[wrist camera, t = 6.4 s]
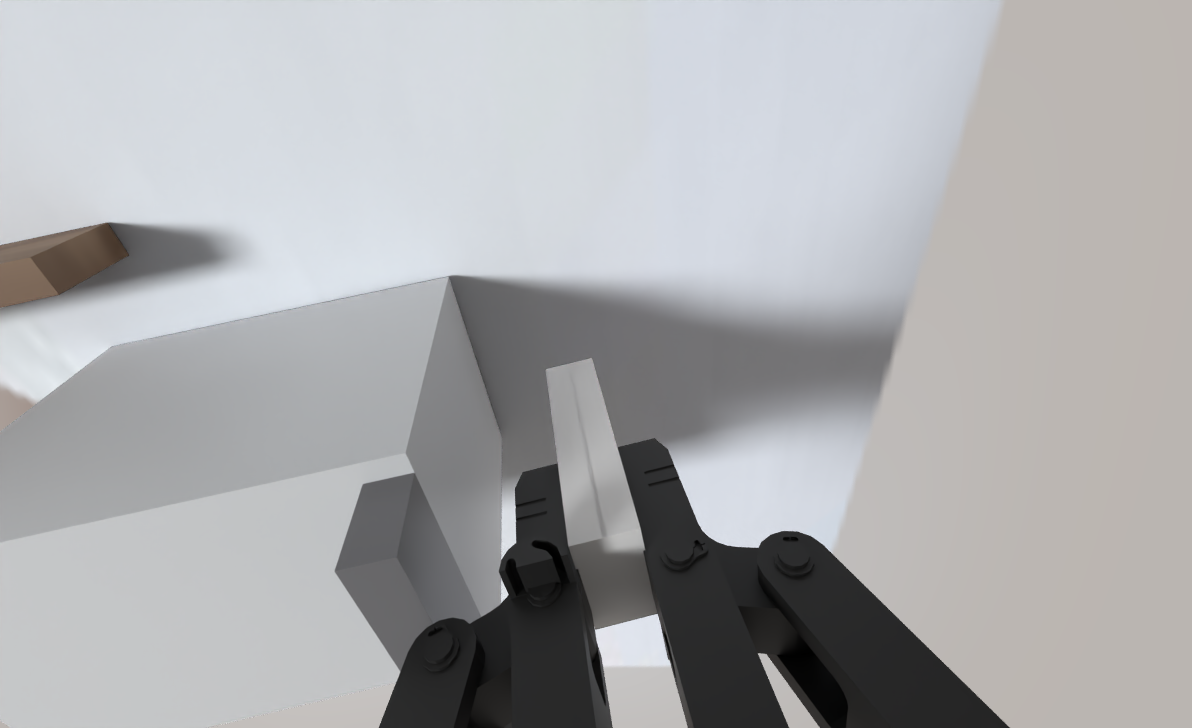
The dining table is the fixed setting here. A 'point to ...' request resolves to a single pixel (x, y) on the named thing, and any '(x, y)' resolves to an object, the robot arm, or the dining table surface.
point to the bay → (55, 262)
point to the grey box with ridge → (247, 515)
